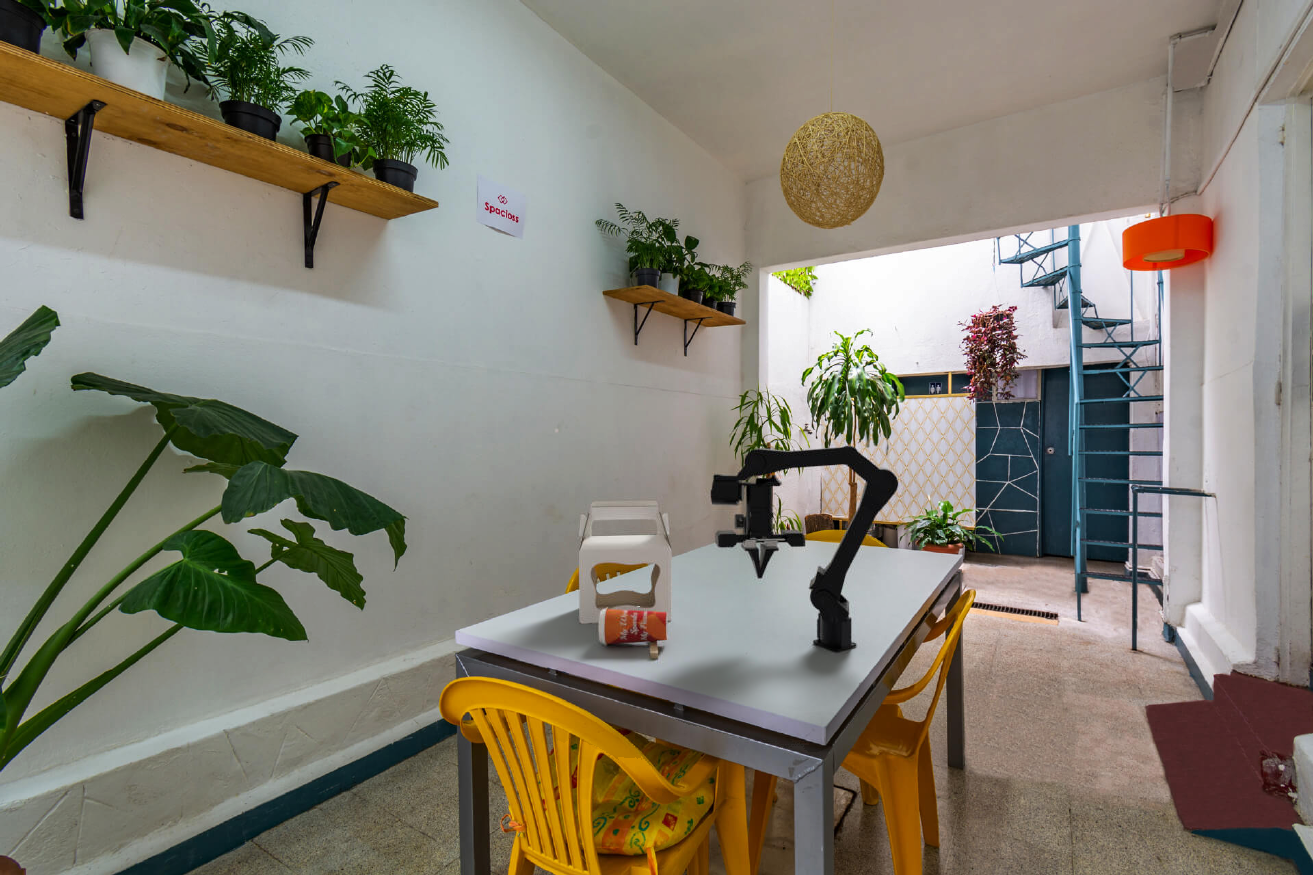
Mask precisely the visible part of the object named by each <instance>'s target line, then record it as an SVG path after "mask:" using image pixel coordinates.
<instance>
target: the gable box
mask: <svg viewBox="0 0 1313 875" xmlns="http://www.w3.org/2000/svg"><path fill="white" fill-rule="evenodd" d="M668 515H669V514H668V512H663V513H662V514H661V511H659V505H658V502H657V501H656V500H655V499H650V500H648V499H647V500H645V499H644V500H595V501H594V500H593V501H592V502H591V503H590V508H589V512H588V513H587V516H586V514H584V513H583V514H580V520H579V530H578V536H579V537H581V538H580V544H579V548H578V587H579V588H578V590H579V591H578V592H579V594H578V599H579V601H578V603H579V606H578V609H579V610H578V611H579V612H578V616H579V619H578V620H579V624H580V623H581V624H580V625H582V624H583V625H587V624H589V623H592V624H599V615H600V612H601V610H603V609H606V608H607V607H608V608H609V609H616V610H636V611H655V612H667V616H668V622H671V621H672V620H673V619H672V618H673V615H672V614H673V612H672V609H673V608H672V603H673V601H672V596H673V594H672V593H673V592H672V588H673V587H672V580H673V579H672V546H671V543H670V540H669V537H668V535H670V526H669V516H668ZM611 520H612V521H613V520H614V521H616V520H619V521H620V520H649V521H651V520H653V521H655V522H656V534H654V533H653V534H652V533H651V534H649V533H647V534H610V535H609V534H608V535H607V534H606V535H605V534H603V535H601V534H600V535H593V527H592V526H593V523H594V522H595V521H596V522H597V521H611ZM606 563H607V564H609V563H612V564H620V565H629V566H631V565H633V566H634V565H640V564H641V565H642V564H654V566H653V569H652V571H651V574H650V582H651V583H650V585H651V586H650V587H651V589H650V591H649V592H646V593H641V592H638V591H634V590H618V591H613V592H609V593H599V592H598V591H597V584H598V576H597V572H596V569H595V566H596V565H600V564H606ZM637 606H640V607H637Z"/></svg>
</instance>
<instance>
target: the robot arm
mask: <svg viewBox="0 0 1313 875" xmlns="http://www.w3.org/2000/svg"><path fill="white" fill-rule="evenodd" d="M743 463H744V465H743V467H742V468H741V470H739V471H738V473H737V474H730V475H729V474H721V473H715V474H713V476H712V477H713V478H712V479H713V480H712V484H711V489H710V500H711V505H713V506H739V505H740V502H744V499H746V500H745V516H744V514H743V513H739V514H737V513H736V514H734V529H735V530H742V534H741V533H738V534H737V533H736V532H735V531H734V530H733V529H732V530H731V529H730V530H729V529H727V530H721V529H720V530H717V531H716V532H715V534H714V543H715V545H716V546H717V547H718V548H722V549H723V548H725V549H726V548H727V549H728V548H734V547H735V546H736V545H737V544H740V547H741V548H742V549H743V551H745V552H747V553H748V555H749V557H750V559H751V562H752V565H753V568H754V569H753V570H754V572H755V575H756V577H757V579H758V580H759V579H762V578H763V576H764V574H765V571H766V569H767V567H768V564H769V562H770V560H771V558H772V557H773V555H774V553H775V552H778V551H779V550H780V549H779V547H778V543H787V544H788V545H789V547H791V548H798V547H799V548H802V547H803V548H804V547H806V535H805V534H804V533H803V532H801V531H799V529H781V532H780V533H774V530H773V529H774V528H773V527H774V521H773V520H774V510H773V509H774V508H773V506H774V505H773V504H774V502H773V501H774V498H773V497H774V493H773V492H774V491H773V490H774V488H773V487H781V486H782V484H783V482H782V481H781V480H780V479H779V478H778V477H777V476H776V474H773V473H777V472H781V471H784V470H788V469H796V468H797V469H801V468H811V467H812V468H813V467H826V466H827V467H829V466H841V465H843V466H847V467H848V468H850V470H852V472H854V473H855V474H857V475H858V476H859V477H860V478H861V479H862V480H864V481H865V483H864V486H863V490H862V493H861V498H860V502H859V505H858V507H857V509H856V511H855V513H854V515H853V517H852V518H851V521H850V523H849V525H848V526H847V529H846V531H845V533H844V535H843V537H842V539H841V540H840V542H839V544H838V546H837V547H836V550H835V552H834V555H833V556H832V558H831V560H830V562H828V564H826V567H825V568H824V567H822V566H820V565H818V566H817V569H816V573H815V575H814V577H813V578H812V579H810V582H809V587H808V589H809V590H810V595H809V600H810V602H811V605H812V606H813V607H814V608H815V609H816V610H818V611H819V612H818V613H817V619H816V638H817V639H814V640H812V643H813V644H815V645H817V646H820V647H823V648H825V649H828V650H829V651H833V652H835V653H837V652H838V653H839V652H841V651H845V650H848V649H851V648H855V647H857V646H858V644H857V642H854V641H852V635H853V634H852V617H850V601H849V600H848V599H847V598H846V597H845V596H844V595H843V593H842V592H843V588H844V585H845V584H844V583H845V581H846V580H845V579H846V576H847V573H848V571H849V569H850V567H851V565H852V564H853V561H854V560H855V557H856V556H857V554H858V551H859V549H860V548H861V546H862V544H863V542H864V540H865V539H866V538H865V537H866V536H867V534H868V533H869V530H870V528H871V526H872V525H873V523H874V520H875V519H876V516H877V515H879V513H880V511H881V510H882V509H883V508H885V506H886V505H887V504H888V502H889V501H890V500H891V498H892V497H893V496H894V495H895V494H896V492H897V490H898V488H899V481H898V478H897V476H896V474H894V472H893V471H892V470H890V469H889V468H887V467H878V466H877V464H876V465H875V464H874V463H873V462H872V461H871V460H869V459H868V458H866V456H864V455H863V454H862V453H860V452H859V450H858V449H857V448H856V447H855V446H852V445H844V446H840V447H838V446H837V447H827V448H813V449H802V450H801V449H800V450H781V449H773V448H761V447H760V448H755V449H752V450H750V451H749V452H748V453H746V456H745V458H744V462H743ZM769 474H772V475H771V476H770V477H762V476H765V475H769ZM760 476H761V477H760ZM753 477H756V479H755V481H747V480H749V479H751V478H753ZM759 543H760V544H759ZM757 544H759V547H758V546H757Z"/></svg>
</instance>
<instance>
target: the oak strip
mask: <svg viewBox="0 0 1313 875" xmlns="http://www.w3.org/2000/svg"><path fill="white" fill-rule="evenodd" d="M658 648H659V646H658V641H649V655H650V656H649V658H650V659H651V660H652V659H653V660H655V659H659V651H658V650H659V649H658Z"/></svg>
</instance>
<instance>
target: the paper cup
mask: <svg viewBox="0 0 1313 875" xmlns="http://www.w3.org/2000/svg"><path fill="white" fill-rule="evenodd" d="M668 623H669V621H668V616H667V612H655V611H636V610H616V609H609V608H608V607H607V608H606V609H603V610H601V612H600V615H599V623H598V629H597V630H598V641H599V642H600V643H601V644H603V645H605V646H608V645H615V644H629V643H630V644H632V643H646V642H649V643H650V641H657V642H659V641H661V642H662V641H668V638H669V624H668Z"/></svg>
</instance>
